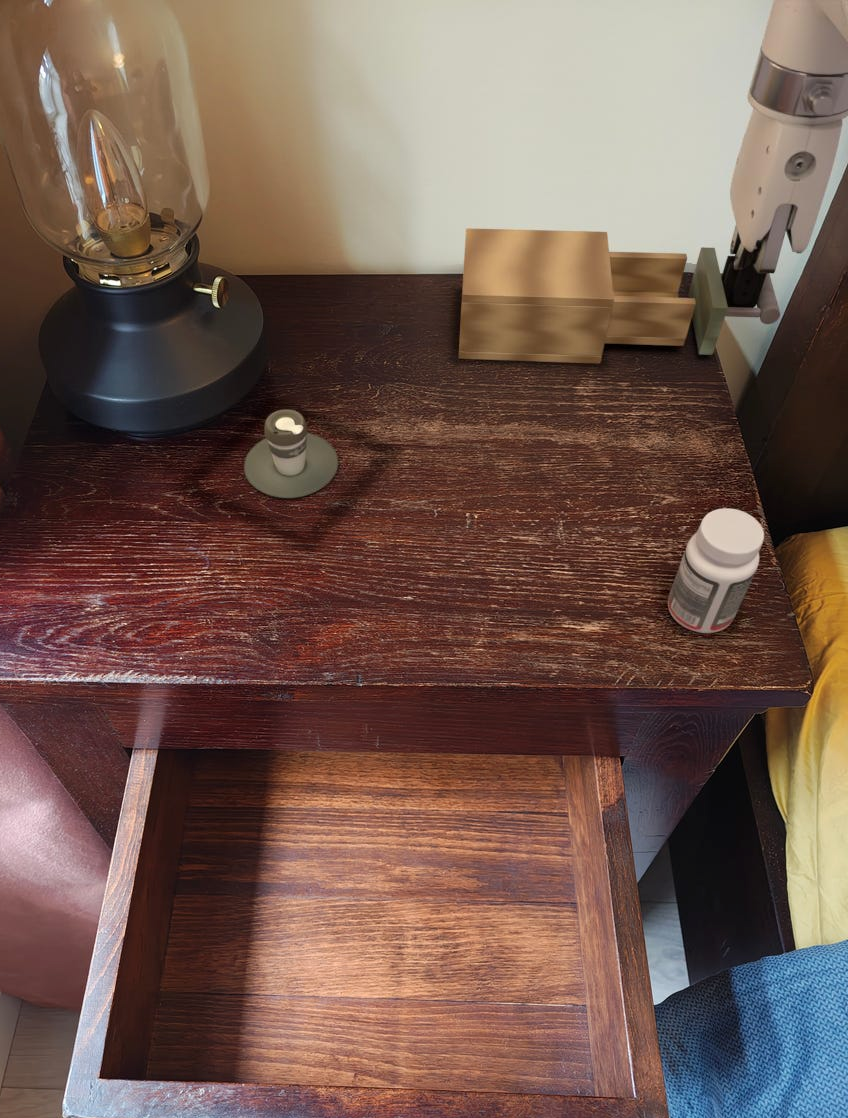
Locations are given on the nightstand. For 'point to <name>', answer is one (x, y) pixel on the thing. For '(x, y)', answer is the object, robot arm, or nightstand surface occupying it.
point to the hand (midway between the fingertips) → (735, 302)
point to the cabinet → (535, 295)
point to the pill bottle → (716, 570)
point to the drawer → (674, 300)
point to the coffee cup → (290, 458)
